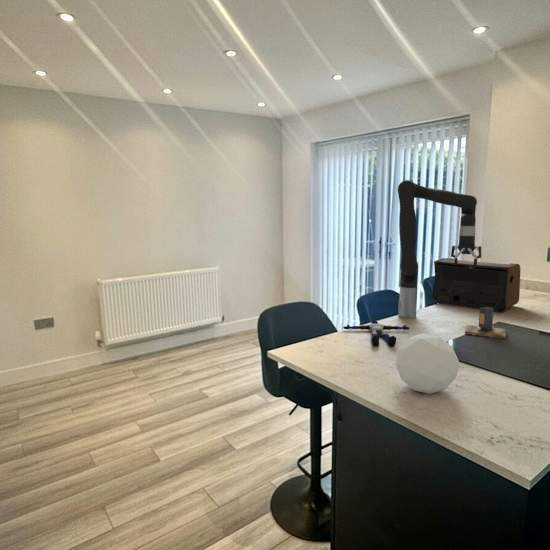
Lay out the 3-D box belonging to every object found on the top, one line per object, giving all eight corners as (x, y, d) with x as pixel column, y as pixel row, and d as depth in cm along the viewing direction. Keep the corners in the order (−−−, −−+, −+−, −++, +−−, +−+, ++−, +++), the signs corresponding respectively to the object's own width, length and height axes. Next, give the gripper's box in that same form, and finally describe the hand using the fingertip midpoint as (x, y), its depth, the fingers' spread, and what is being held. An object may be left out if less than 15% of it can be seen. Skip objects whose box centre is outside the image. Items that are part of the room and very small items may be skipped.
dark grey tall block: (485, 328, 194) (487, 306, 192) (492, 330, 191) (493, 308, 189) (478, 329, 192) (479, 307, 190) (484, 331, 189) (485, 309, 187)
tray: (464, 334, 190) (465, 327, 190) (466, 327, 201) (466, 320, 200) (505, 338, 182) (506, 331, 182) (504, 331, 193) (505, 324, 192)
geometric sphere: (409, 408, 135) (373, 359, 137) (441, 375, 144) (408, 329, 146) (448, 404, 118) (407, 348, 120) (482, 366, 127) (444, 315, 130)
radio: (424, 304, 252) (425, 261, 247) (446, 296, 273) (448, 256, 269) (501, 317, 219) (504, 267, 214) (520, 306, 240) (523, 261, 236)
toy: (346, 335, 176) (342, 316, 206) (346, 348, 177) (342, 327, 207) (422, 336, 173) (406, 316, 202) (422, 349, 174) (406, 328, 203)
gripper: (451, 235, 205) (450, 266, 208) (482, 235, 198) (480, 267, 201) (452, 234, 212) (451, 264, 214) (482, 234, 205) (480, 265, 207)
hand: (465, 265), depth 208 cm, fingers open, 8 cm apart
